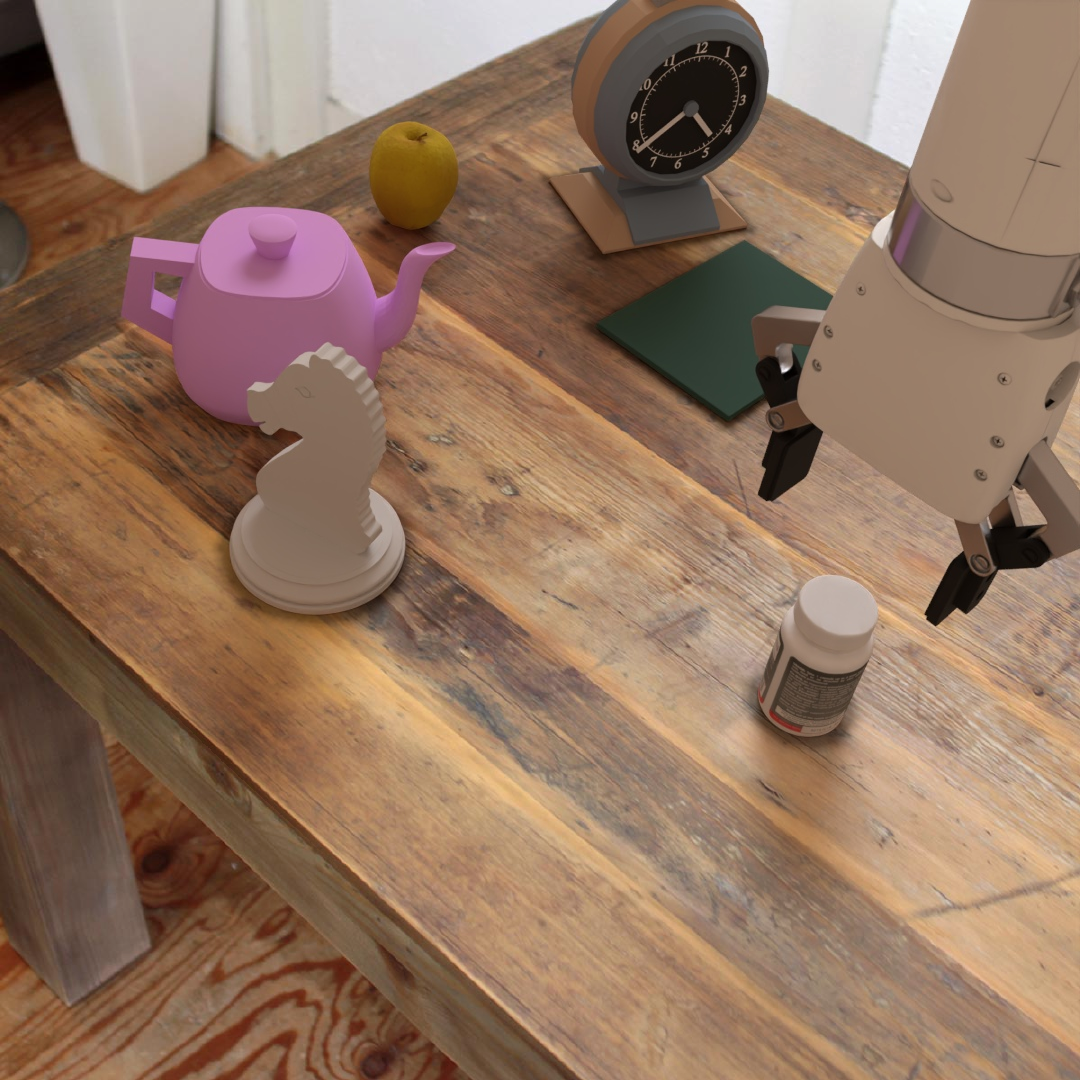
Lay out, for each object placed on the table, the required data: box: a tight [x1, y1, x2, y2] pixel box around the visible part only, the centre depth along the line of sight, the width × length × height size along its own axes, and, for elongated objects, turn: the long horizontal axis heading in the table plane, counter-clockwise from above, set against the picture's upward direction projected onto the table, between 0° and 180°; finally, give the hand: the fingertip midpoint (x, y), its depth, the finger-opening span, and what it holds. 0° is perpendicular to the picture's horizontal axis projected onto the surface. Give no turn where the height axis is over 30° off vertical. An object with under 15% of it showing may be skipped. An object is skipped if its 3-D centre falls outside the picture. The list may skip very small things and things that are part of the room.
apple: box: [368, 120, 459, 231], centre depth 95 cm, size 6×6×8 cm
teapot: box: [120, 206, 457, 427], centre depth 82 cm, size 13×20×11 cm
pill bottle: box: [757, 574, 880, 738], centre depth 69 cm, size 5×5×8 cm
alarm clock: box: [549, 0, 770, 255], centre depth 96 cm, size 14×10×18 cm
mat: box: [595, 239, 834, 422], centre depth 93 cm, size 16×12×1 cm
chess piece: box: [228, 342, 406, 616], centre depth 70 cm, size 10×10×15 cm
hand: (861, 545), depth 62 cm, fingers open, 9 cm apart
